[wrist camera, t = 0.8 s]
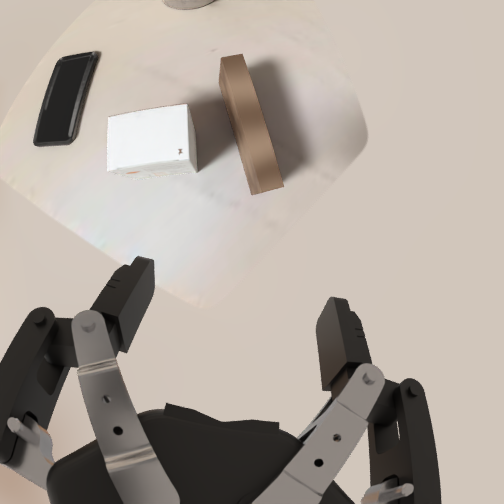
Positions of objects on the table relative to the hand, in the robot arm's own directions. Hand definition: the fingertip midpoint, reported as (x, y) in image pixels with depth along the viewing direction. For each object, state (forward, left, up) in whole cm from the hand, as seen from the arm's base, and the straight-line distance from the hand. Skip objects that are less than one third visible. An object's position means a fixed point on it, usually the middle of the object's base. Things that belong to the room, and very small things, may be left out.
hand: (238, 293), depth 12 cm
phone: (-27, -17, -23) cm, 39 cm away
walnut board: (-12, +6, -23) cm, 26 cm away
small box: (-12, -4, -23) cm, 26 cm away
